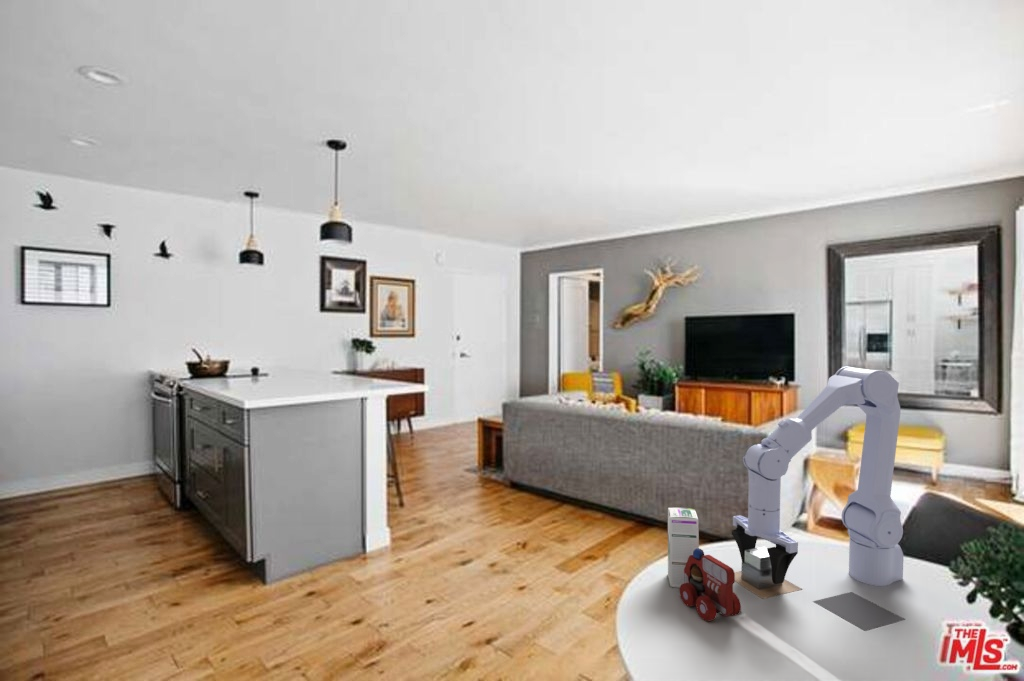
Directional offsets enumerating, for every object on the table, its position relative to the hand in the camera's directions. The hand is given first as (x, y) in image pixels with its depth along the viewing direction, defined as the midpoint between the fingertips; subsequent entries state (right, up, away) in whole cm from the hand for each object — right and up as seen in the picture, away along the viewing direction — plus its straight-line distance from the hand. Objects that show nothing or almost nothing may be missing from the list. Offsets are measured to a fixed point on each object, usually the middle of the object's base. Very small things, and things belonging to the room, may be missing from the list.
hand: (762, 573), depth 107 cm
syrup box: (-15, -3, +3) cm, 16 cm away
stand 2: (+12, -4, -10) cm, 16 cm away
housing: (0, -2, 0) cm, 2 cm away
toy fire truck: (-13, -4, -7) cm, 16 cm away
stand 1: (0, -3, 0) cm, 3 cm away
